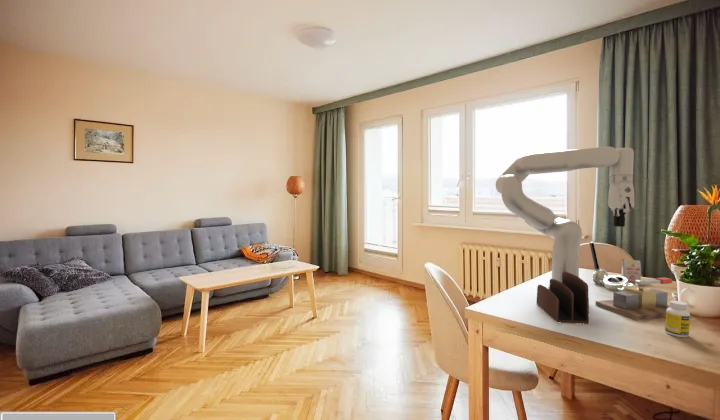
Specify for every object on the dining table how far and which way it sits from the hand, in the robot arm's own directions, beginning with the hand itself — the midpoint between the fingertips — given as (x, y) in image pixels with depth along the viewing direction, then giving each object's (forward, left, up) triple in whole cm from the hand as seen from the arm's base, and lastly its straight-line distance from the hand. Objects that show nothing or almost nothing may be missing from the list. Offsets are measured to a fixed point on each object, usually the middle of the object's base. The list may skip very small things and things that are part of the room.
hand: (619, 226), depth 142 cm
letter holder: (-34, -9, -30) cm, 46 cm away
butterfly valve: (+12, +14, -30) cm, 35 cm away
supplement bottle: (-14, -33, -29) cm, 46 cm away
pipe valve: (-4, -13, -28) cm, 31 cm away
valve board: (-4, -13, -29) cm, 32 cm away
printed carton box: (+31, +21, -29) cm, 47 cm away
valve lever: (+2, -13, -20) cm, 24 cm away
